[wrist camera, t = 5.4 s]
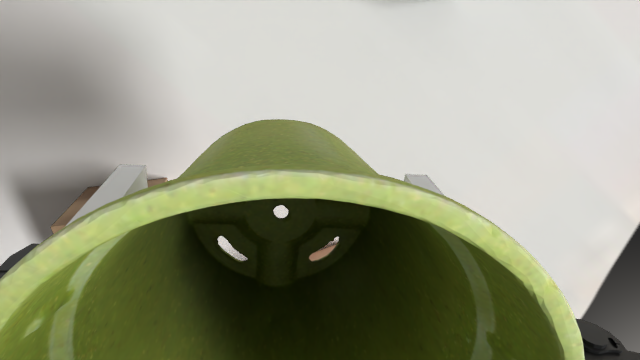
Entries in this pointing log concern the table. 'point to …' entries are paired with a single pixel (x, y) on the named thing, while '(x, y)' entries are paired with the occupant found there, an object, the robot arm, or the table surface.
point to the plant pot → (283, 269)
